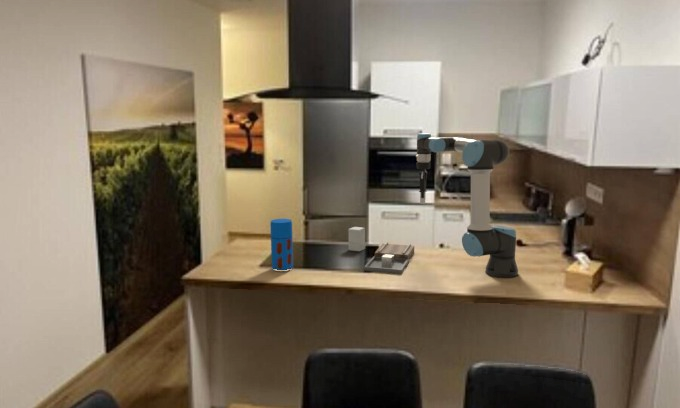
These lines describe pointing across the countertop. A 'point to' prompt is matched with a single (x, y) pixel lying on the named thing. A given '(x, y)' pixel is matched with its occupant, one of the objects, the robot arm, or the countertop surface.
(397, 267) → the tray
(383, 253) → the slot board
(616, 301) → the countertop surface
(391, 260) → the beige block
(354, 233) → the supplement box
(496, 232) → the robot arm
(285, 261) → the thermos
